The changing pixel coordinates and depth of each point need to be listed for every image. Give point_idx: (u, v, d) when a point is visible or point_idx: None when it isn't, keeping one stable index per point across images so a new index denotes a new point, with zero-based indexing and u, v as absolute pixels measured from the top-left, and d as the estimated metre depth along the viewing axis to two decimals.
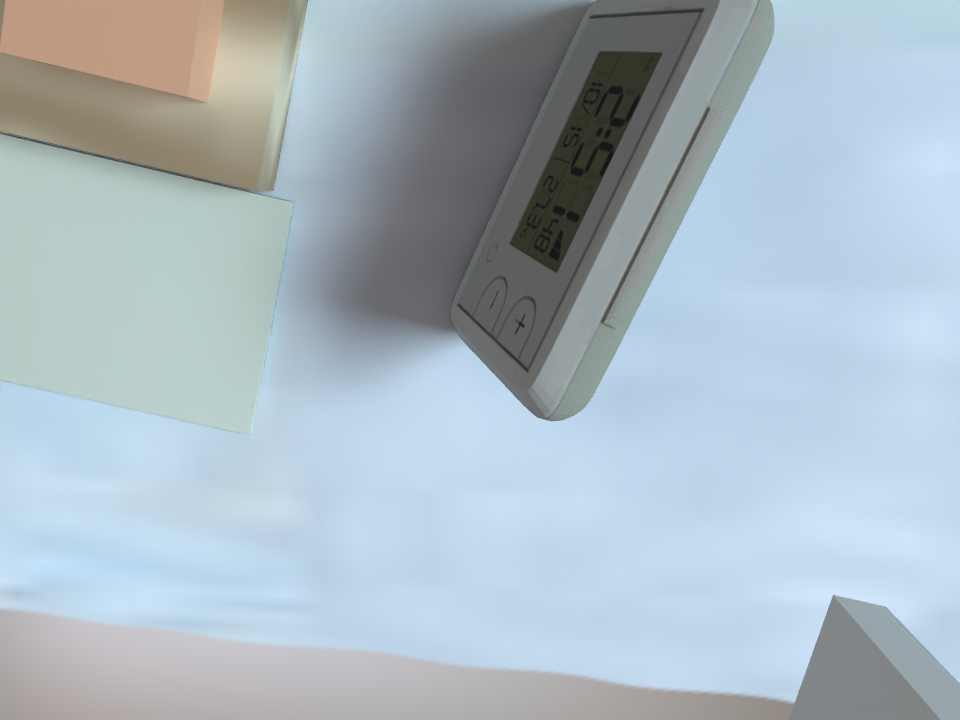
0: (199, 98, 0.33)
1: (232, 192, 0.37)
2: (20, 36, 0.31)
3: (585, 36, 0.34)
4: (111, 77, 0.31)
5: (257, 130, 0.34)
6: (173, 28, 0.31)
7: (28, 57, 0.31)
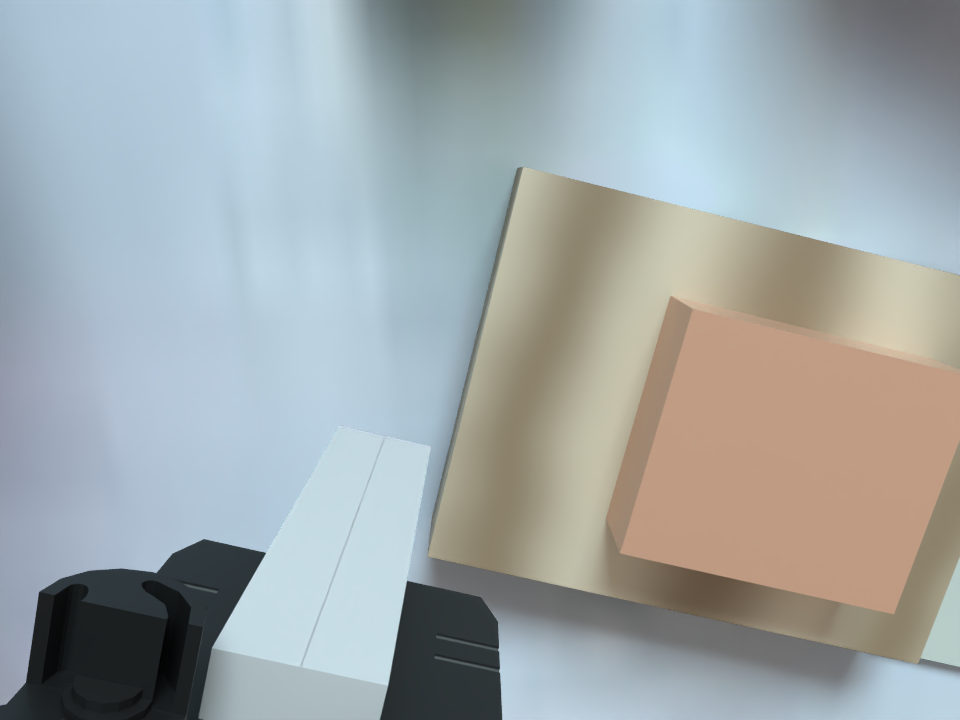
0: (950, 366, 0.24)
1: None
2: (878, 587, 0.24)
3: None
4: (943, 477, 0.23)
5: None
6: (890, 390, 0.22)
7: (905, 580, 0.23)
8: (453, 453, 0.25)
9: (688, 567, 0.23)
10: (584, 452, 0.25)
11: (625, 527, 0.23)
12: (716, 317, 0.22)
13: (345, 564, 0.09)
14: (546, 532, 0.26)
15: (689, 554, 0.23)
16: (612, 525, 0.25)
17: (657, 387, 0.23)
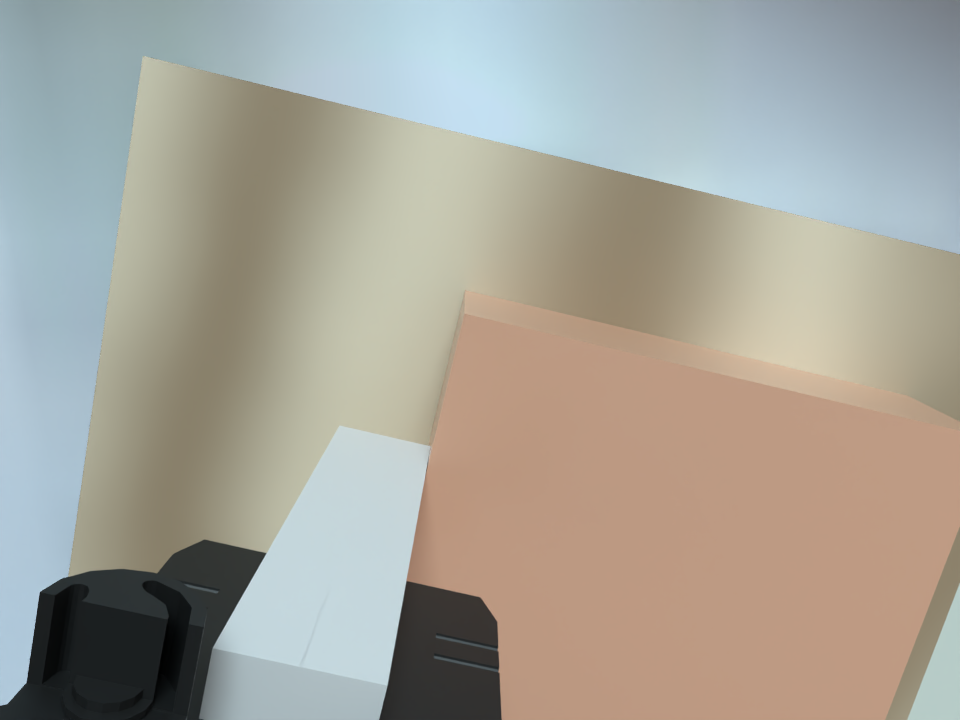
0: (936, 411, 0.14)
1: None
2: None
3: None
4: (923, 610, 0.13)
5: (935, 271, 0.14)
6: (828, 459, 0.12)
7: None
8: (76, 542, 0.15)
9: None
10: None
11: None
12: (508, 330, 0.12)
13: (346, 564, 0.09)
14: None
15: None
16: None
17: None
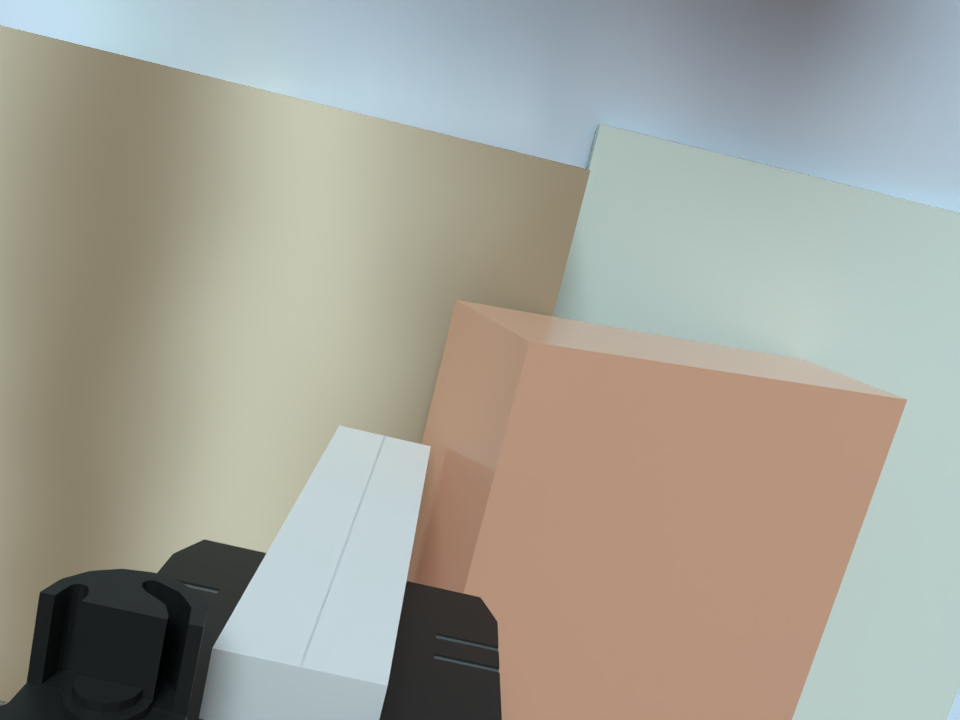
0: None
1: (573, 259, 0.17)
2: (771, 707, 0.16)
3: None
4: (852, 543, 0.16)
5: (444, 158, 0.14)
6: (803, 434, 0.14)
7: None
8: None
9: None
10: None
11: None
12: (567, 354, 0.12)
13: (345, 564, 0.09)
14: None
15: None
16: None
17: (455, 473, 0.13)
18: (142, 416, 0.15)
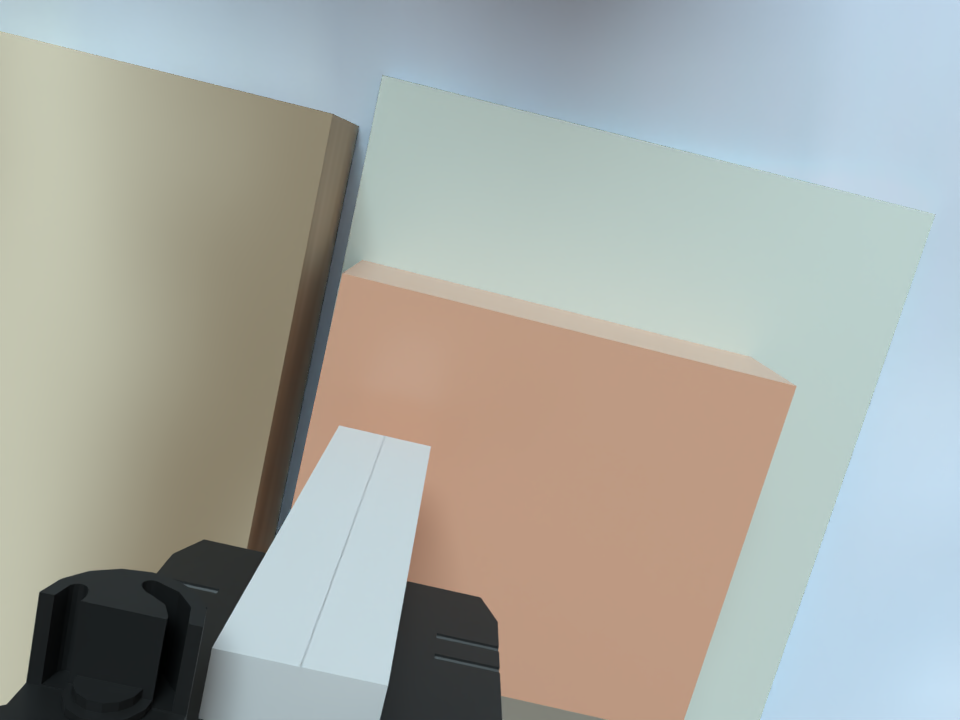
0: (765, 367, 0.16)
1: (361, 215, 0.16)
2: (652, 695, 0.16)
3: None
4: (743, 535, 0.15)
5: (180, 100, 0.13)
6: (655, 402, 0.15)
7: (693, 686, 0.16)
8: None
9: None
10: None
11: None
12: (379, 287, 0.14)
13: (345, 564, 0.09)
14: None
15: None
16: None
17: None
18: None
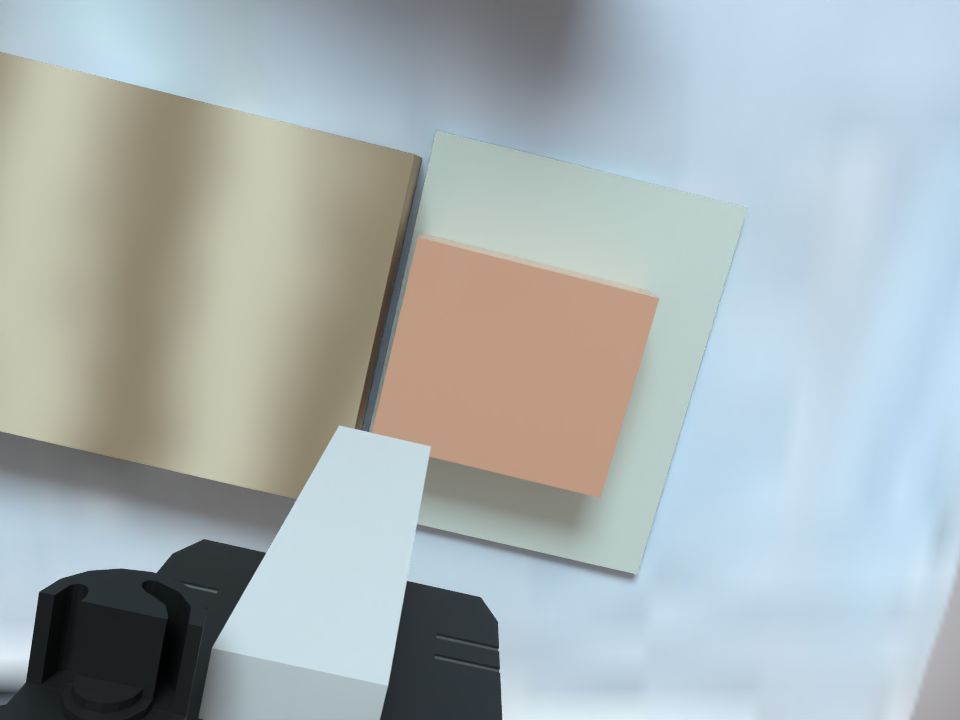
0: (649, 292, 0.29)
1: (423, 208, 0.29)
2: (585, 474, 0.28)
3: None
4: (633, 381, 0.28)
5: (336, 147, 0.26)
6: (583, 307, 0.27)
7: (607, 468, 0.28)
8: None
9: None
10: None
11: (375, 420, 0.28)
12: (437, 245, 0.27)
13: (345, 564, 0.09)
14: None
15: (426, 443, 0.28)
16: None
17: None
18: (176, 287, 0.27)
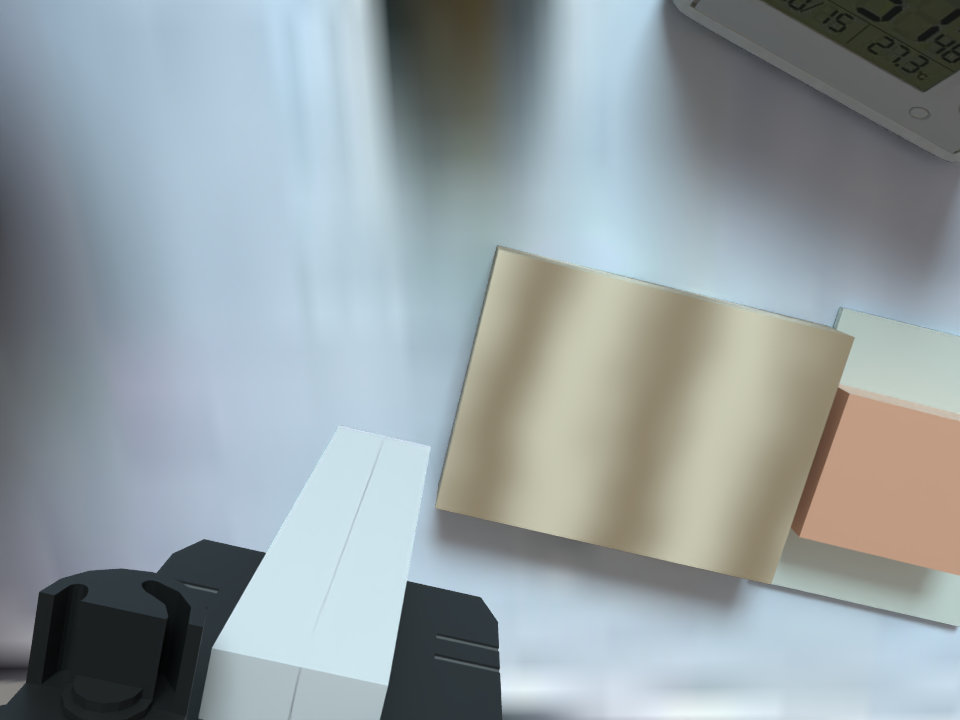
0: None
1: None
2: (953, 559, 0.39)
3: (715, 10, 0.35)
4: None
5: (799, 332, 0.37)
6: None
7: None
8: (452, 438, 0.38)
9: (838, 545, 0.39)
10: (540, 437, 0.38)
11: (802, 521, 0.39)
12: (863, 399, 0.37)
13: (345, 564, 0.09)
14: (515, 491, 0.38)
15: (840, 538, 0.39)
16: None
17: (822, 437, 0.39)
18: (672, 429, 0.38)
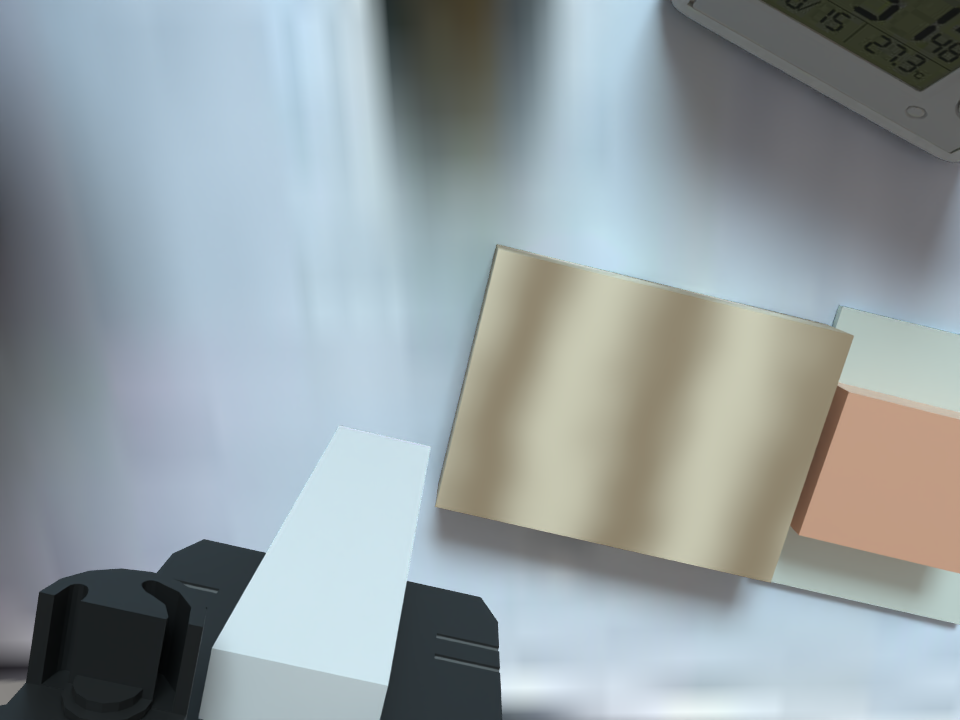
0: None
1: None
2: (952, 557, 0.39)
3: (713, 9, 0.35)
4: None
5: (799, 331, 0.37)
6: None
7: None
8: (452, 436, 0.38)
9: (838, 544, 0.39)
10: (540, 436, 0.38)
11: (801, 519, 0.39)
12: (862, 397, 0.37)
13: (345, 564, 0.09)
14: (515, 490, 0.38)
15: (840, 536, 0.39)
16: None
17: (821, 435, 0.39)
18: (672, 427, 0.38)
